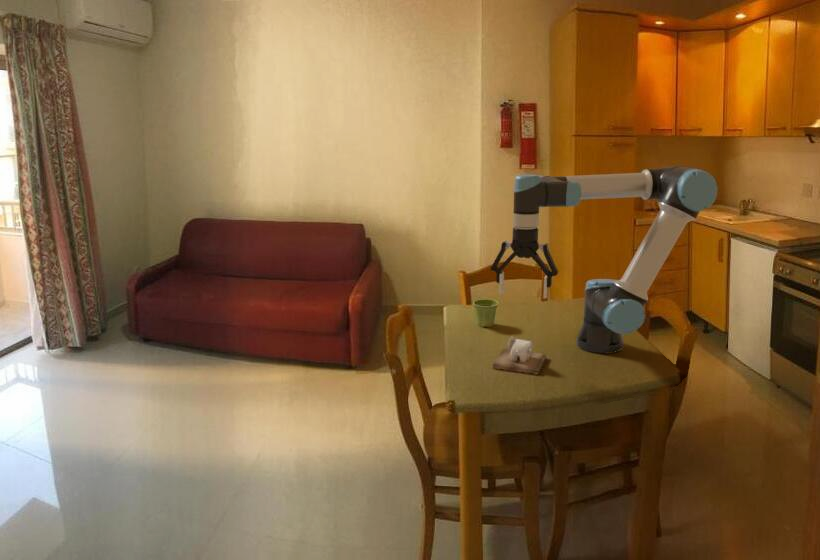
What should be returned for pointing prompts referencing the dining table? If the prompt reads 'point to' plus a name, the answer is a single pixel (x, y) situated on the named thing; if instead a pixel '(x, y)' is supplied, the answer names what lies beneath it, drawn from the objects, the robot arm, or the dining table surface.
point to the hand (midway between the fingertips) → (523, 295)
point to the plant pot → (485, 311)
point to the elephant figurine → (519, 349)
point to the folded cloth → (527, 367)
